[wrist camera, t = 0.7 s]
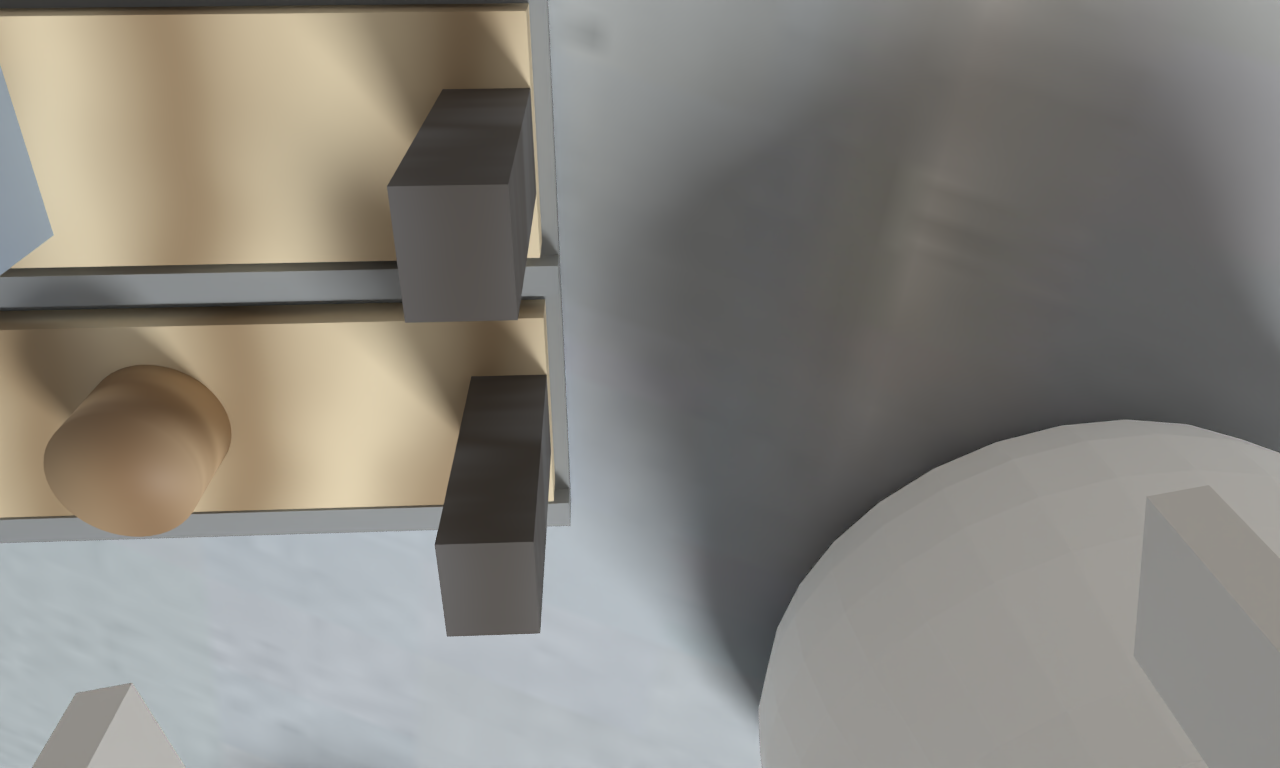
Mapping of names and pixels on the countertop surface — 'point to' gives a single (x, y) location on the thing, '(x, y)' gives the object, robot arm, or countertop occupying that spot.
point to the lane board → (299, 288)
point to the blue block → (17, 191)
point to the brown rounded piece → (138, 451)
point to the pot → (1000, 609)
